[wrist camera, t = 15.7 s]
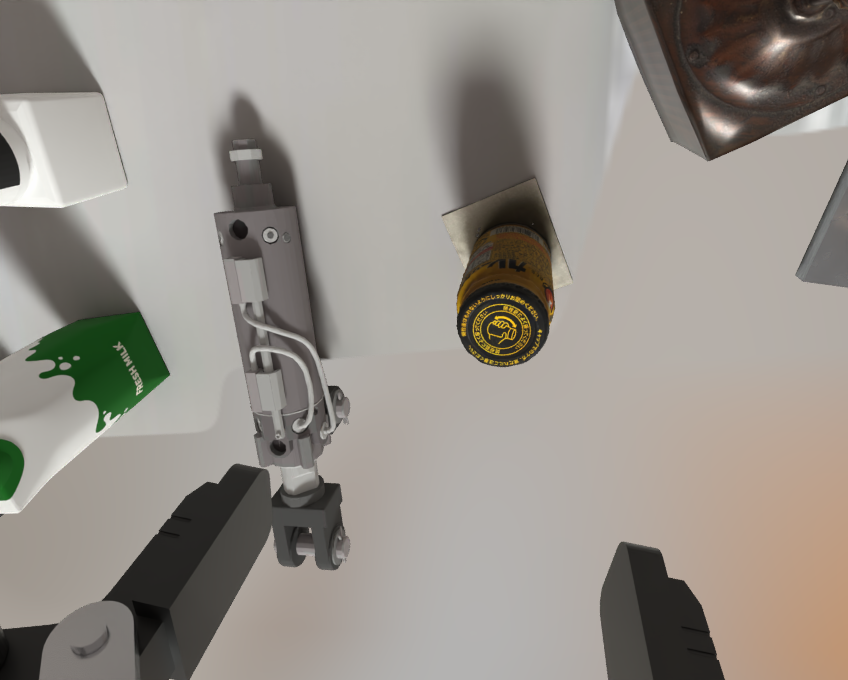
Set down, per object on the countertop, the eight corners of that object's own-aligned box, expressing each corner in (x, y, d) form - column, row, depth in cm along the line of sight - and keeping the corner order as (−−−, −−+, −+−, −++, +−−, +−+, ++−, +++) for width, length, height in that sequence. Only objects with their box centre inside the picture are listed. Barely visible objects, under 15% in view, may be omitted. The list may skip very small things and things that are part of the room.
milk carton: (182, 381, 51) (3, 544, 34) (108, 388, 54) (-95, 544, 36) (143, 300, 48) (-79, 436, 30) (65, 311, 50) (-183, 444, 33)
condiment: (484, 312, 42) (468, 394, 32) (441, 216, 39) (409, 271, 29) (573, 281, 40) (588, 359, 29) (535, 176, 37) (536, 221, 26)
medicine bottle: (23, 92, 40) (-153, 102, 30) (104, 91, 39) (-50, 101, 29) (55, 186, 44) (-93, 224, 33) (130, 188, 43) (1, 228, 32)
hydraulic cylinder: (306, 520, 54) (259, 593, 45) (243, 147, 43) (164, 142, 34) (373, 524, 53) (339, 601, 43) (325, 139, 42) (266, 131, 32)
